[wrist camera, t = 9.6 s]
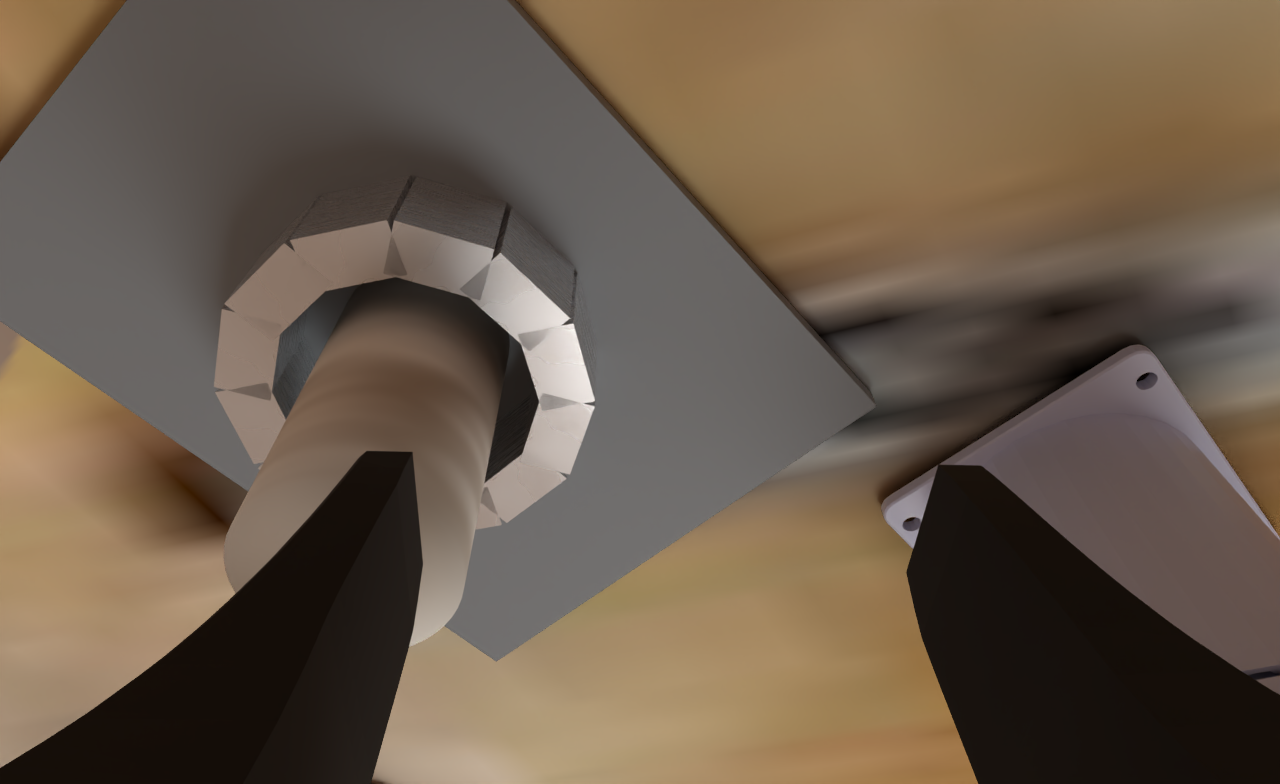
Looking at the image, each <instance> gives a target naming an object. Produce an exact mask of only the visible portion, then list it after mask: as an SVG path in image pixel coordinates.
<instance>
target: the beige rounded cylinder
mask: <svg viewBox="0 0 1280 784" xmlns="http://www.w3.org/2000/svg"><path fill="white" fill-rule="evenodd" d="M509 350H510V338H509V333H508V332H507V331H506V330H505V329H504V328H502V327H501V326H500V325H499V324H498V323H497V322H496V321H495V320H494V319H492V318H491V317H490V316H489V315H488V314H487V313H486V312H485V311H483V310H482V309H481V308H480V307H479V306H478V305H477V304H476V303H475V302H473V301H472V300H471V299H470V298H469V297H466V296H462V295H459V294H455V293H451V292H448V291H444V290H441V289H437V288H433V287H430V286H426V285H423V284H419V283H415V282H412V281H408V280H405V279H401V278H397V277H393V278H388V279H383V280H378V281H373V282H368V283H363V284H361V285H360V286H359V287H358V288H357V289H356V290H355V291H354V293H353V294H352V296H351V297H350V299H349V301H348V303H347V304H346V306H345V308H344V310H343V312H342V314H341V316H340V318H339V320H338V322H337V324H336V325H335V327H334V329H333V331H332V333H331V335H330V337H329V339H328V341H327V343H326V345H325V346H324V348H323V350H322V352H321V354H320V356H319V358H318V360H317V362H316V364H315V366H314V367H313V369H312V371H311V373H310V375H309V377H308V379H307V381H306V383H305V385H304V387H303V389H302V390H301V392H300V394H299V396H298V398H297V400H296V402H295V404H294V406H293V408H292V410H291V411H290V413H289V415H288V417H287V419H286V421H285V423H284V425H283V427H282V429H281V431H280V432H279V434H278V436H277V438H276V440H275V442H274V444H273V446H272V448H271V450H270V452H269V453H268V455H267V457H266V459H265V461H264V463H263V465H262V467H261V469H260V471H259V473H258V474H257V476H256V478H255V480H254V482H253V484H252V486H251V488H250V490H249V492H248V494H247V495H246V497H245V499H244V501H243V503H242V505H241V507H240V509H239V511H238V513H237V515H236V516H235V518H234V520H233V522H232V524H231V526H230V529H229V531H228V533H227V535H226V540H225V544H224V564H225V570H226V573H227V576H228V579H229V582H230V583H231V585H232V587H233V589H234V591H235V593H237V592H238V591H239V590H240V589H241V588H242V587H243V586H244V585H245V584H246V583H247V582H248V581H249V580H250V579H251V578H252V577H253V576H254V575H255V574H256V573H257V572H258V571H259V570H260V569H261V568H262V567H263V566H264V565H265V564H266V563H267V562H268V561H269V560H270V559H271V558H272V557H273V556H274V555H275V554H276V553H277V552H278V551H279V550H280V549H281V548H282V546H283V545H284V544H285V543H286V542H287V541H288V540H289V539H290V538H291V537H292V535H293V534H294V533H295V532H296V531H297V530H298V529H299V528H300V527H301V526H302V524H303V523H304V522H305V521H306V520H307V519H308V518H309V517H310V516H311V514H312V513H313V512H314V511H315V510H316V509H317V507H318V506H319V505H320V504H321V503H322V502H323V500H324V499H325V498H326V497H327V496H328V495H329V493H330V492H331V491H332V490H333V489H334V487H335V486H336V485H337V484H338V483H339V481H340V480H341V479H342V478H343V476H344V475H345V474H346V473H347V471H348V470H349V469H350V468H351V467H352V465H353V464H354V463H355V462H356V460H357V459H358V458H359V457H360V456H361V455H362V454H363V453H365V452H366V451H399V452H413V461H414V472H415V483H416V493H417V504H418V515H419V525H420V536H421V547H422V557H423V569H422V576H421V583H420V589H419V596H418V603H417V609H416V616H415V622H414V628H413V633H412V637H411V641H410V645H409V646H412V645H415V644H417V643H419V642H421V641H424V640H425V639H427V638H429V637H430V636H432V635H434V634H435V633H436V632H437V631H439V630H440V629H441V628H442V627H444V626H445V624H446V623H447V622H448V621H449V620H450V619H451V618H452V616H453V615H454V613H455V612H456V610H457V609H458V606H459V604H460V602H461V599H462V595H463V591H464V586H465V581H466V576H467V570H468V565H469V560H470V555H471V550H472V544H473V539H474V534H475V529H476V524H477V518H478V513H479V508H480V503H481V497H482V492H483V487H484V482H485V477H486V471H487V466H488V461H489V456H490V451H491V445H492V440H493V435H494V430H495V424H496V419H497V414H498V409H499V404H500V398H501V393H502V388H503V383H504V378H505V372H506V367H507V362H508V357H509Z"/></svg>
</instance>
